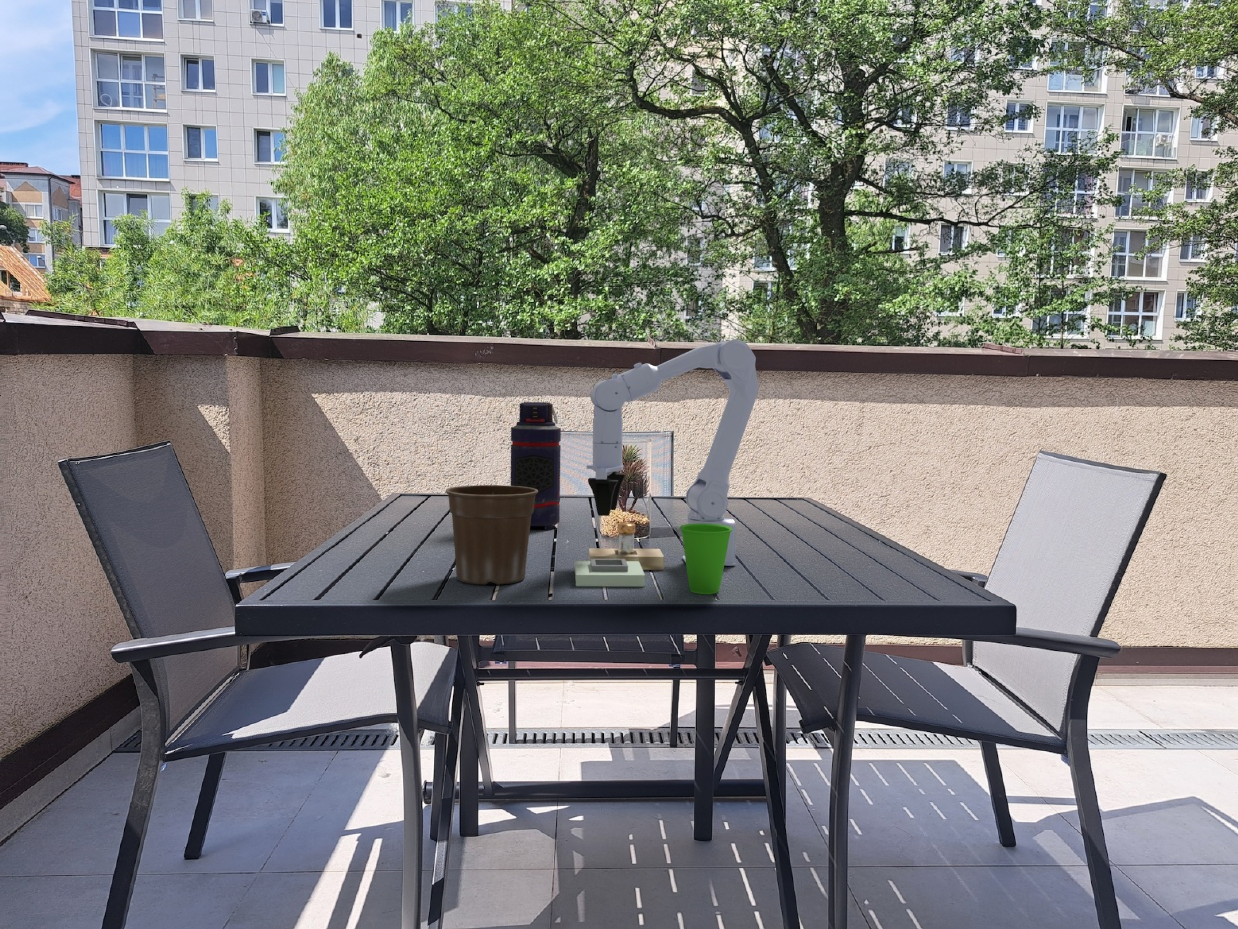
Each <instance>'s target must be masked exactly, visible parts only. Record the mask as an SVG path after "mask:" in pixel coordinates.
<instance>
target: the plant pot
mask: <svg viewBox="0 0 1238 929" xmlns="http://www.w3.org/2000/svg"><path fill="white" fill-rule="evenodd" d="M445 493H446V494H447V496H448V504H449V505H448V506H449V513H450V514H451V519H452V520H451V521H452V530H453V542H454V543H453V544H454V556H455V570H456V571H455V572H456V573H455V574H456V578H457V580H459V581H460V582H463V583H466V584H471V585H488V583H493V584H495V585H506V584H508V585H509V584H516V583H518V582H521V581H523V580H524V579H525V578H526V573H527V572H526V571H527V559H528V550H529V549H528V548H529V541H530V540H529V539H530V533H531V532H530V531H531V530H530V529H531V526H530V523H531V514H532V513H533V511H534V502H535V495H536V494H537V493H538V490H537V489H534V488H529V487H521V486H511V485H504V484H503V485H501V484H498V485H497V484H482V485H480V484H477V485H475V484H473V485H461V486H459V485H457V486H452V487H448V488H446V489H445Z"/></svg>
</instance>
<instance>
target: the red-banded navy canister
mask: <svg viewBox="0 0 1238 929" xmlns="http://www.w3.org/2000/svg"><path fill="white" fill-rule="evenodd" d="M518 418H519V419H518V421H517V422H516V424H515V425H514V426H511V428H510V442H511V444H510V486H521V487H529V488H534V489H537V490H538V493H537V494H536V495H535V502H534V511H533V513H532V514H531V523H530V527H544V530H545V531H549V530H548V529H550V530H553V528H554V527H553V526H556V525H558V524H559V523H560V520H561V519H560V518H561V517H560V516H561V515H560V512H561V508H560V507H561V505H560V503H559V502H560V501H561V449H562V448H561V445H560V442H561V439H562V438H561V436H562V432H561V431H562V429H561V427H558V426H556V425H558V417H557V414H556V411H555V409H554V406H553V403H552V402H540V401H523V402H521V403H519V417H518ZM553 419H554V420H553Z"/></svg>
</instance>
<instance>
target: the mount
mask: <svg viewBox="0 0 1238 929" xmlns="http://www.w3.org/2000/svg"><path fill="white" fill-rule="evenodd" d="M590 559H625V560H626V561H639V563H640V565H641V567H642V569H643V571H644V570H648V571H649V570H651V571H656V570H658V571H659V570H660V571H661V570H664V569H665V555H664V554H663V552H662V551H661V549H660V548H634V555H618V548H606V547H605V548H601V547H600V548H597V547H596V548H594V547H593V548H592V547H591V548H588V561H590Z"/></svg>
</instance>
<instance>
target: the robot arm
mask: <svg viewBox="0 0 1238 929" xmlns="http://www.w3.org/2000/svg"><path fill="white" fill-rule="evenodd" d="M756 360H757V358H756V356H755V354H754V352H753V351H752V349H751V348H750V346H749V344H747V342H745V341H744V340H742V339H730V340H720V341H718V342H716V343H711V344H708V345H703V346H699V347H696V348H694V349H691V350H689V351H687V352H684V353H682V354H680V355H678V356H676V357H674V358H671V359H669V360H667V361H665V362H662V363H661V364H659V365H656V366H655V365H652V364H651V363H644V364H642V362H637V363H635V364H633V367H634V368H631V369H629V370H627V371H625V372H622V373H619V374H618V373H617V372H616V373H614V374H611V379H606V380H604V379H603V380H601V381H599V382H597V383H595V385H594V387H592V389H591V394H590V395H589V396H590V400H591V403H592V404H593V410H592V411H593V412H592V414H593V418H592V464H586V469H587V470H592V471H593V472H595V477H589V478H587V482H588V485H589V487H590V489H591V491H592V494H593V499H594V503H595V508H596V512H597V513H596V514H597V516H598V517H599V516H600V517H601V516H602V517H609V516H610V513H611V511H616V510H617V506H618V501H619V495H620V491H621V489H622V488H621V487H622V484H623V482H624V480H625V478H626V473H624V472H620V471H623V470H624V465H623V423H624V422H623V421H624V420H623V417H622V416H623V415H622V414H623V406H624V405H625V403H631V402H634V401H636V400H639V399H641V398H644V397H645V396H649V395H650V394H652V393H655V392H657V391H658V390H659V389H660V387H661V385H662V382H664V381H667V380H670V379H672V378H675V377H678V376H680V375H683V374H685V373H687V372H691V371H693V370H697V368H701V369H713V370H714V371H715V372H716V373H717V374H718V375H719V376H720V377H721V378H722V379H723V381H724V383H725V384H726V386H727V388H728V390H729V395H728V399H727V401H726V404H725V407H724V410H723V412H722V416H721V418H720V421H719V424H718V427H717V429H716V433H715V436H714V439H713V440H712V444H711V446H710V449H709V452H708V455H707V458H706V460H705V464H704V466H703V468H702V469H701V470H700V471H699V472H698V474H697V476H696V479H695V481H694V482H693V483H692V484H691V486H690V485H689V487H688V489H687V491H686V492H685V493H686V494H685V503H686V505H687V506H688V507H689V509H690V510H689V513H688V514H687V524H699V523H701V524H718V525H725V526H729V527H731V528H732V530H733V531H731V532H730V537H729V542H728V548H727V553H726V558H725V564H724V567H725V566H730V567H734V566H736V543H737V542H736V541H737V530H736V529H737V528H736V522H735V520H734V519H733V518H725V513H726V511H727V510H728V505H729V500H728V493H729V489H730V473H731V470H732V468H733V465H734V462H735V459H736V456H737V453H738V451H739V449H740V448H739V447H740V445H741V442H742V440H743V436H744V433H745V431H746V428H747V424H748V423H749V419H750V418H751V417H750V416H751V415H752V411H753V408H754V405H755V403H756V399H757V396H758V394H759V389H760V386H759V381H758V375H757V370H756ZM682 560H683V561H684V562H685V563H686V560H685V555H682Z"/></svg>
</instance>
